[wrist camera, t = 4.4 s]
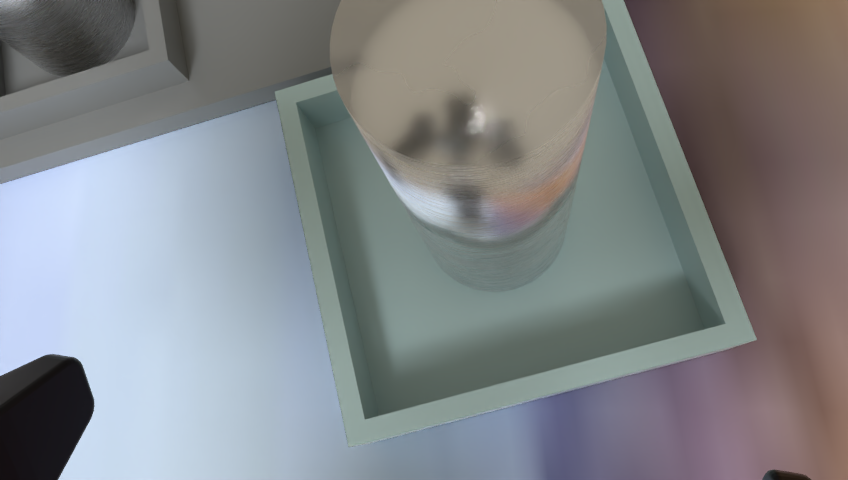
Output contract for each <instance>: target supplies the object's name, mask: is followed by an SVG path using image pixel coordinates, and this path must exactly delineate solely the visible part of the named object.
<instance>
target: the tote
mask: <svg viewBox="0 0 848 480" xmlns="http://www.w3.org/2000/svg"><path fill="white" fill-rule="evenodd" d="M602 3H603V6H604V10H605V17H606V25H607V34H606V48H605V54H604V60H603V64H602V69H601V73H600V78H599V83H598V87H597V92H596V96H595V101H594V105H593V110H592V115H591V119H590V124H589V128H588V133H587V138H586V142H585V147H584V151H583V156H582V161H581V165H580V170H579V174H578V179H577V184H576V188H575V193H574V197H573V202H572V207H571V211H570V216H569V220H568V225H567V230H566V234H565V239H564V242H563V245H562V248H561V250H560V252H559V254H558V256H557V257H556V259H555V261H554V262H553V263H552V265H551V266H550V267H549V268H548V269H547V270H546V271H545V272H544V273H543V274H542V275H541V276H540V277H538V278H537V279H535V280H534V281H532V282H530V283H528V284H526V285H524V286H522V287H519V288H516V289H513V290H508V291H500V292H488V291H481V290H476V289H473V288H470V287H467V286H465V285H463V284H461V283H459V282H457V281H456V280H454V279H452V278H451V277H450V276H449V275H448V274H446V273H445V272H444V271H443V270H442V269H441V267H440V266H439V265H438V264H437V262H436V261H435V259H434V258H433V256H432V254H431V253H430V251H429V249H428V248H427V246H426V244H425V242H424V241H423V239H422V237H421V236H420V234H419V232H418V230H417V229H416V227H415V225H414V224H413V222H412V220H411V218H410V217H409V215H408V213H407V212H406V210H405V208H404V206H403V205H402V203H401V201H400V200H399V198H398V196H397V194H396V193H395V191H394V189H393V188H392V186H391V184H390V182H389V181H388V179H387V177H386V176H385V174H384V172H383V170H382V169H381V167H380V165H379V164H378V162H377V160H376V158H375V157H374V155H373V153H372V151H371V150H370V148H369V146H368V145H367V143H366V141H365V139H364V138H363V136H362V134H361V133H360V131H359V129H358V127H357V126H356V124H355V122H354V121H353V119H352V117H351V115H350V114H349V112H348V110H347V109H346V107H345V105H344V103H343V101H342V99H341V97H340V95H339V93H338V91H337V88H336V85H335V82H334V78H333V75H332V74H331V75H327V76H324V77H321V78H318V79H314V80H311V81H308V82H304V83H301V84H298V85H295V86H291V87H288V88H285V89H282V90H278V91H275V96H276V101H277V106H278V111H279V115H280V120H281V125H282V130H283V135H284V139H285V144H286V149H287V154H288V159H289V163H290V168H291V173H292V178H293V183H294V187H295V192H296V197H297V202H298V207H299V211H300V216H301V221H302V226H303V231H304V235H305V240H306V245H307V250H308V255H309V259H310V264H311V269H312V274H313V279H314V283H315V288H316V293H317V298H318V303H319V307H320V312H321V317H322V322H323V327H324V331H325V336H326V341H327V346H328V351H329V355H330V360H331V365H332V370H333V375H334V379H335V384H336V389H337V394H338V399H339V403H340V408H341V413H342V418H343V423H344V427H345V432H346V437H347V442H348V447H353V446H359V445H364V444H370V443H374V442H378V441H382V440H386V439H389V438H393V437H397V436H401V435H405V434H408V433H412V432H416V431H420V430H424V429H427V428H431V427H435V426H439V425H443V424H446V423H450V422H454V421H458V420H462V419H466V418H469V417H473V416H477V415H481V414H485V413H488V412H492V411H496V410H500V409H504V408H507V407H511V406H515V405H519V404H523V403H526V402H530V401H534V400H538V399H542V398H545V397H549V396H553V395H557V394H561V393H564V392H568V391H572V390H576V389H580V388H583V387H587V386H591V385H595V384H599V383H602V382H606V381H610V380H614V379H618V378H621V377H625V376H629V375H633V374H637V373H640V372H644V371H648V370H652V369H656V368H659V367H663V366H667V365H671V364H675V363H678V362H682V361H686V360H690V359H694V358H698V357H701V356H705V355H709V354H713V353H717V352H720V351H724V350H728V349H731V348H734V347H737V346H740V345H743V344H746V343H749V342H752V341H755V340H757V339H756V336H755V334H754V331H753V329H752V326H751V323H750V321H749V318H748V316H747V313H746V311H745V308H744V306H743V303H742V301H741V298H740V295H739V293H738V290H737V288H736V285H735V283H734V280H733V278H732V275H731V273H730V270H729V267H728V265H727V262H726V260H725V257H724V255H723V252H722V250H721V247H720V245H719V242H718V239H717V237H716V234H715V232H714V229H713V227H712V224H711V222H710V219H709V217H708V214H707V211H706V209H705V206H704V204H703V201H702V199H701V196H700V194H699V191H698V189H697V186H696V183H695V181H694V178H693V176H692V173H691V171H690V168H689V166H688V163H687V161H686V158H685V155H684V153H683V150H682V148H681V145H680V143H679V140H678V138H677V135H676V133H675V130H674V127H673V125H672V122H671V120H670V117H669V115H668V112H667V110H666V107H665V105H664V102H663V100H662V97H661V94H660V92H659V89H658V87H657V84H656V82H655V79H654V77H653V74H652V72H651V69H650V66H649V64H648V61H647V59H646V56H645V54H644V51H643V49H642V46H641V44H640V41H639V38H638V36H637V33H636V31H635V28H634V26H633V23H632V21H631V18H630V16H629V13H628V10H627V8H626V5H625V3H624V0H602Z"/></svg>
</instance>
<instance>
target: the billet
mask: <svg viewBox="0 0 848 480" xmlns="http://www.w3.org/2000/svg"><path fill="white" fill-rule="evenodd" d="M134 21H135V4H134V0H0V39H1V40H2V41H3V42H5V43H6V44H8V45H9V46H10V47H12V48H13V49H15V50H16V51H17V52H19V53H20V54H22V55H23V56H24V57H26V58H27V59H28V60H30V61H31V62H33V63H34V64H35V65H37V66H38V67H40V68H41V69H43V70H44V71H46V72H48V73H50V74H53V75H56V76H63V77H66V76H69V75H72V74H75V73H78V72H81V71H85V70H88V69H91V68H94V67H97V66H100V65H104V64H107V63H108V62H109V61H110V60H111V59H113V58H114V57H115V56H116V55H117V54H118V53H119V51H120V50H121V49H122V48H123V46H124V45H125V43H126V42H127V40H128V38H129V36H130V34H131V32H132V29H133V26H134Z"/></svg>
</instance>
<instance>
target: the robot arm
mask: <svg viewBox="0 0 848 480" xmlns="http://www.w3.org/2000/svg"><path fill="white" fill-rule="evenodd" d="M93 411H94V398H93V395H92V392H91V389H90V386H89V383H88V380H87V377H86V374H85V371H84V368H83V366H82V364H81V362H80V361H79V360H78V359H76V358H74V357H68V356H62V355H55V354H50V355H45V356H43V357H41V358H38V359H36V360H34V361H32V362H30V363H28V364H25V365H23V366H21V367H19V368H17V369H15V370H13V371H10V372H8V373H6V374H4V375H2V376H0V480H58V479H59V477H60V475H61V473H62V471H63V469H64V468H65V466H66V464H67V462H68V460H69V458H70V456H71V455H72V453H73V451H74V449H75V447H76V445H77V443H78V442H79V440H80V438H81V436H82V434H83V432H84V431H85V429H86V427H87V425H88V423H89V421H90V419H91V417H92V414H93ZM762 480H811V479H810V478H808V477H807V476H805V475H803V474H798V473H792V472H786V471H780V470H770V471H768V472H767V473H766V474H765V475H764V477H763V479H762Z"/></svg>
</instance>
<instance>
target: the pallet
mask: <svg viewBox="0 0 848 480" xmlns="http://www.w3.org/2000/svg"><path fill="white" fill-rule="evenodd" d="M340 2H341V0H134V4H135V21H134V26H133V29H132V32H131V34H130V36H129V38H128V40H127V42H126V43H125V45H124V46H123V48H122V49H121V50H120V51H119V53H118V54H117V55H116V56H115V57H114V58H113V59H111V60H110V61H109V62H108V63H107V64H104V65H100V66H97V67H94V68H91V69H88V70H85V71H81V72H78V73H75V74H72V75H69V76H66V77H63V76H56V75H53V74H50V73H48V72H46V71H44V70H43V69H41V68H40V67H38V66H37V65H35V64H34V63H33V62H31V61H30V60H28V59H27V58H26V57H24V56H23V55H22V54H20V53H19V52H17V51H16V50H15V49H13V48H12V47H10V46H9V45H8V44H6V43H5V42H3V41H2V40H1V39H0V184H2V183H5V182H8V181H12V180H15V179H18V178H21V177H25V176H28V175H31V174H34V173H38V172H41V171H44V170H48V169H51V168H54V167H57V166H61V165H64V164H67V163H70V162H74V161H77V160H80V159H84V158H87V157H90V156H93V155H97V154H100V153H103V152H106V151H110V150H113V149H116V148H120V147H123V146H126V145H129V144H133V143H136V142H139V141H142V140H146V139H149V138H152V137H155V136H159V135H162V134H165V133H169V132H172V131H175V130H178V129H182V128H185V127H188V126H191V125H195V124H198V123H201V122H205V121H208V120H211V119H214V118H218V117H221V116H224V115H227V114H231V113H234V112H237V111H241V110H244V109H247V108H250V107H254V106H257V105H260V104H263V103H267V102H270V101H273V100H276V96H275V91H278V90H282V89H285V88H288V87H291V86H295V85H298V84H301V83H304V82H308V81H311V80H314V79H318V78H321V77H324V76H327V75H331V74H332V69H331V63H330V38H331V30H332V25H333V22H334V18H335V14H336V11H337V9H338V7H339V4H340Z"/></svg>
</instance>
